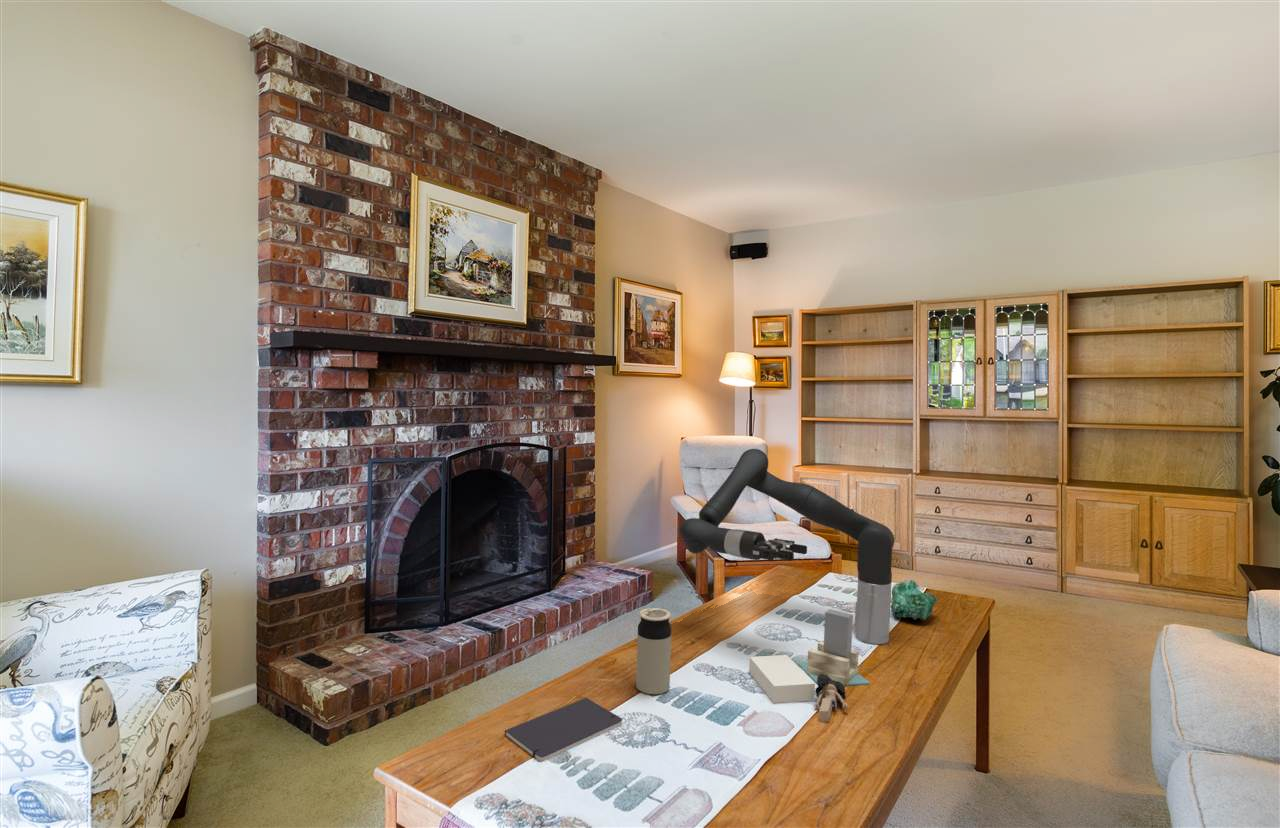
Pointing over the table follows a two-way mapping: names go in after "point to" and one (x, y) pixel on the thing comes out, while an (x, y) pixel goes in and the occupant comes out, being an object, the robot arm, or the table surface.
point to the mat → (854, 681)
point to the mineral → (911, 601)
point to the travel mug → (653, 651)
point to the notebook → (563, 728)
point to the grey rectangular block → (838, 633)
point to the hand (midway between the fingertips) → (800, 553)
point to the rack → (832, 664)
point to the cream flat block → (781, 679)
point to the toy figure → (829, 696)
